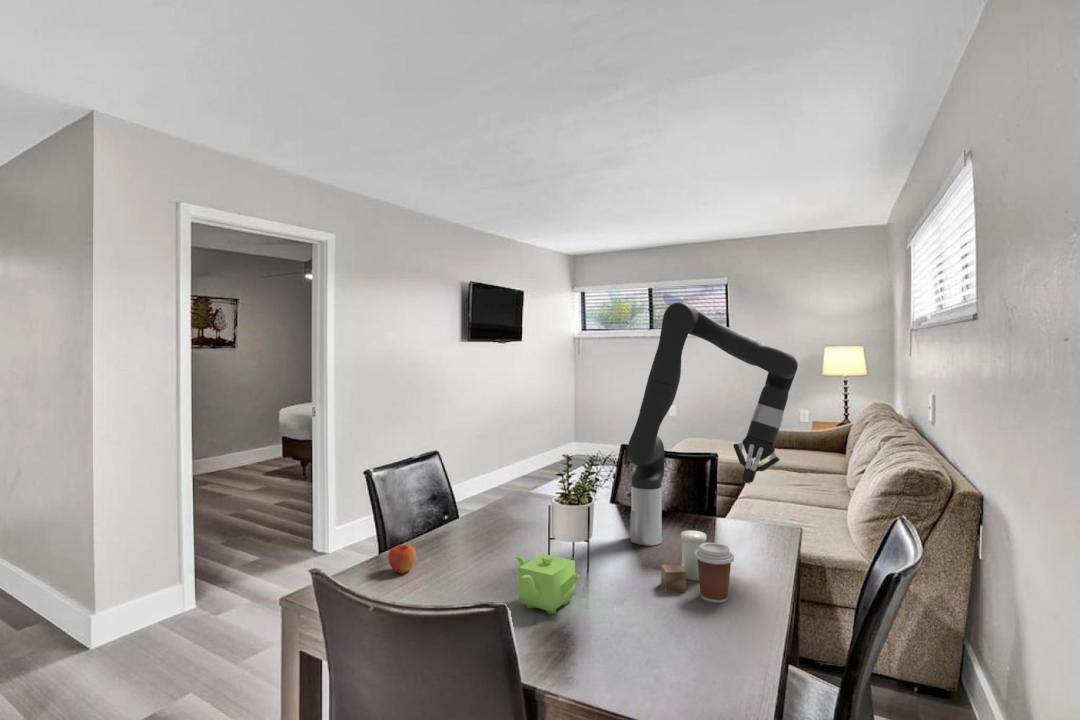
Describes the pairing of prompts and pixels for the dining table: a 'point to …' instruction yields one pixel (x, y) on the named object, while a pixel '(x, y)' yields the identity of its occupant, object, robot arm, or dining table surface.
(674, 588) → the walnut block
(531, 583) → the kettle
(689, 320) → the robot arm
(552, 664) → the dining table surface
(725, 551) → the coffee cup
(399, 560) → the apple
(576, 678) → the dining table surface
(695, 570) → the canister
